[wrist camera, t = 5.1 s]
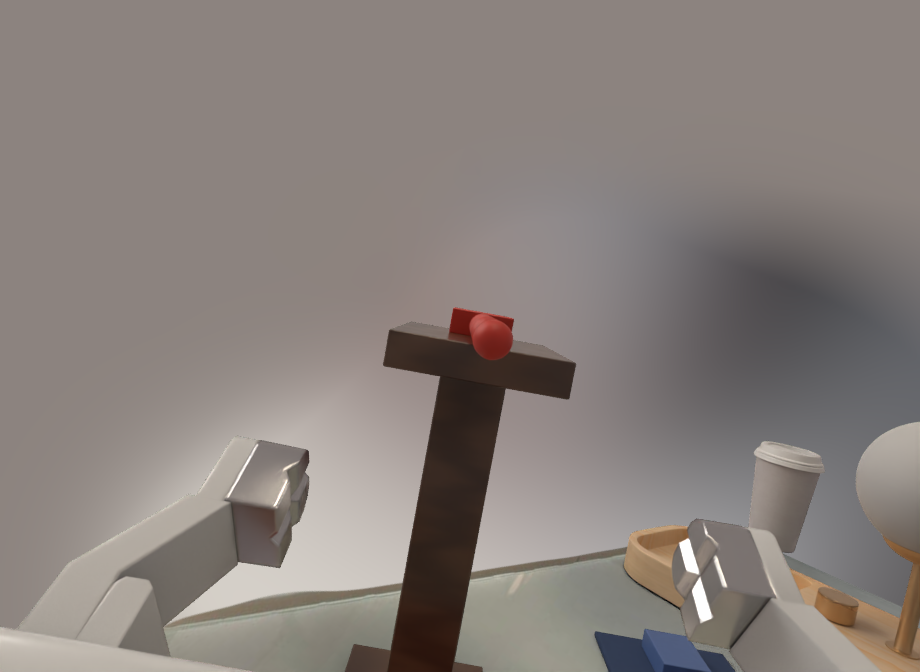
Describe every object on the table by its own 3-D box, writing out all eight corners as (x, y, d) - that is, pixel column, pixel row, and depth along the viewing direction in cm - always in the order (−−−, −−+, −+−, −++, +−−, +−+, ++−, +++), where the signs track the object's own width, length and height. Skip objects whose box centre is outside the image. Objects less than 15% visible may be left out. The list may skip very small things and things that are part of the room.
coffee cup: (819, 562, 82) (842, 463, 81) (754, 550, 82) (776, 451, 82) (784, 536, 92) (804, 447, 91) (726, 525, 92) (745, 436, 91)
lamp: (605, 565, 68) (647, 359, 66) (682, 547, 78) (719, 369, 77) (961, 777, 42) (1043, 447, 40) (1004, 707, 52) (1070, 444, 51)
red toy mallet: (541, 371, 22) (549, 329, 21) (438, 352, 22) (446, 311, 21) (504, 338, 41) (508, 317, 41) (450, 328, 41) (454, 307, 41)
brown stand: (308, 792, 31) (389, 328, 29) (351, 656, 43) (410, 321, 41) (486, 824, 31) (576, 363, 30) (480, 679, 43) (544, 345, 41)
